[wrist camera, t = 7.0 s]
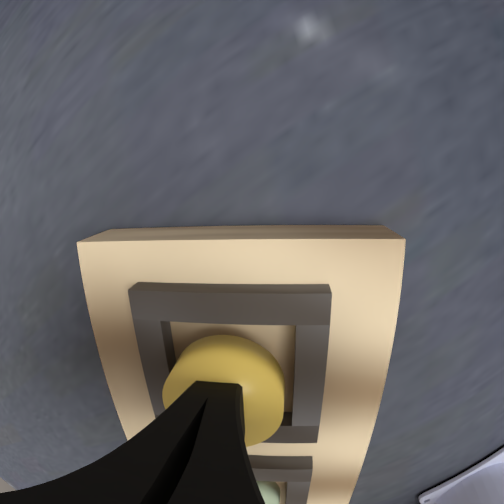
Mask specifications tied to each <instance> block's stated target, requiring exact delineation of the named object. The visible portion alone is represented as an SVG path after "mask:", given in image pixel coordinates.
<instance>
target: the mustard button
mask: <svg viewBox="0 0 504 504" xmlns="http://www.w3.org/2000/svg"><path fill="white" fill-rule="evenodd" d="M195 381H207V382H221V383H238V384H240V385H241V386H242V387H243V403H244V419H245V440H244V441H245V445H246V447H249V446H253V445H256V444H259V443H261V442H263V441H265V440H266V439H268V438H269V437H271V436H272V435H273V434H274V433H275V432H276V431H277V429H278V428H279V426H280V424H281V422H282V419H283V413H284V392H285V379H284V374H283V371H282V369H281V366H280V365H279V363H278V361H277V360H276V359H275V358H274V356H273V355H272V354H271V353H270V352H269V351H267V350H266V349H265V348H263V347H262V346H260V345H259V344H257V343H255V342H253V341H251V340H248V339H245V338H242V337H238V336H233V335H213V336H208V337H204V338H201V339H199V340H197V341H195V342H193V343H191V344H190V345H189V346H188V347H186V349H185V350H184V351H183V352H182V354H181V355H180V357H179V358H178V360H177V362H176V364H175V365H174V367H173V369H172V371H171V372H170V374H169V376H168V378H167V380H166V381H165V384H164V386H163V391H162V398H163V404H164V407H165V410H166V409H167V408H168V407H169V406H170V405H171V404H172V403H173V402H174V401H175V400H176V399H177V398H178V397H179V396H180V395H181V394H182V393H183V392H184V391H185V390H186V389H187V388H188V387H189V386H191V385H192V384H193V383H194V382H195Z"/></svg>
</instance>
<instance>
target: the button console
mask: <svg viewBox="0 0 504 504" xmlns="http://www.w3.org/2000/svg"><path fill="white" fill-rule="evenodd" d="M405 240H406V239H405V238H403V237H401V236H400V235H398V234H397V233H395V232H393V231H392V230H390V229H388V228H387V227H385V226H383V225H251V226H196V227H159V228H129V229H109V230H107V231H104V232H101V233H99V234H96V235H94V236H91V237H88V238H86V239H83V240H81V241H78V242H77V248H78V255H79V262H80V268H81V274H82V280H83V285H84V291H85V296H86V301H87V306H88V311H89V315H90V320H91V324H92V328H93V332H94V336H95V340H96V344H97V348H98V352H99V356H100V359H101V363H102V366H103V370H104V373H105V377H106V380H107V383H108V386H109V389H110V393H111V396H112V399H113V402H114V405H115V408H116V410H117V413H118V416H119V419H120V422H121V424H122V427H123V430H124V432H125V435H126V438H127V440H129V439H131V438H132V437H133V436H135V435H136V434H137V433H138V432H140V431H141V430H142V429H144V428H145V427H146V426H147V425H149V424H150V423H151V422H152V421H153V420H154V419H156V418H157V417H158V416H159V415H160V414H161V413H162V412H163V411H165V407H164V404H163V398H162V391H163V386H164V384H165V381H166V380H167V378H168V376H169V374H170V372H171V371H172V369H173V367H174V365H175V364H176V362H177V360H178V358H179V357H180V355H181V354H182V352H183V351H184V350H185V349H186V347H188V346H189V345H190V344H191V343H193V342H195V341H197V340H199V339H201V338H204V337H208V336H213V335H233V336H238V337H242V338H245V339H248V340H251V341H253V342H255V343H257V344H259V345H260V346H262V347H263V348H265V349H266V350H267V351H269V352H270V353H271V354H272V355H273V356H274V358H275V359H276V360H277V361H278V363H279V365H280V366H281V369H282V371H283V374H284V379H285V392H284V413H283V419H282V422H281V424H280V426H279V428H278V429H277V431H276V432H275V433H274V434H273V435H272V436H271V437H269V438H268V439H266V440H265V441H263V442H261V443H259V444H256V445H253V446H249V447H246V449H247V453H248V457H249V460H250V464H251V467H252V470H253V473H254V476H255V479H256V481H272V482H276V483H277V485H278V486H279V488H280V503H279V504H348V503H349V501H350V498H351V496H352V493H353V490H354V487H355V485H356V482H357V479H358V476H359V473H360V470H361V467H362V464H363V461H364V458H365V455H366V452H367V449H368V445H369V442H370V439H371V435H372V432H373V428H374V425H375V421H376V417H377V414H378V410H379V406H380V402H381V398H382V393H383V389H384V385H385V380H386V376H387V371H388V366H389V361H390V356H391V351H392V345H393V340H394V334H395V328H396V321H397V315H398V308H399V300H400V293H401V284H402V275H403V265H404V254H405Z"/></svg>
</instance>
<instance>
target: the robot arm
mask: <svg viewBox="0 0 504 504" xmlns="http://www.w3.org/2000/svg"><path fill="white" fill-rule="evenodd" d="M244 440H245V419H244V403H243V387H242V386H241V385H240V384H238V383H221V382H207V381H195V382H194V383H193V384H192V385H191V386H189V387H188V388H187V389H186V390H185V391H184V392H183V393H182V394H181V395H180V396H179V397H178V398H177V399H176V400H175V401H174V402H173V403H172V404H171V405H170V406H169V407H168V408H167V409H166V410H165V411H163V412H162V413H161V414H160V415H159V416H158V417H157V418H156V419H154V420H153V421H152V422H151V423H150V424H149V425H147V426H146V427H145V428H144V429H142V430H141V431H140V432H138V433H137V434H136V435H135V436H133V437H132V438H131V439H129V440H128V441H127V442H125V443H124V444H122V445H121V446H120V447H118V448H117V449H115V450H113V451H112V452H110V453H109V454H107V455H105V456H104V457H102V458H100V459H99V460H97V461H95V462H93V463H91V464H89V465H87V466H85V467H83V468H81V469H79V470H76V471H74V472H72V473H70V474H67V475H65V476H63V477H60V478H58V479H55V480H52V481H49V482H46V483H43V484H40V485H36V486H33V487H29V488H25V489H21V490H16V491H11V492H5V493H0V504H265V502H264V499H263V497H262V495H261V492H260V490H259V487H258V484H257V482H256V479H255V476H254V473H253V470H252V467H251V464H250V460H249V457H248V453H247V449H246V445H245V441H244ZM418 498H419V502H420V503H421V504H504V447H503V448H502V449H500V450H499V451H497V452H496V453H494V454H493V455H491V456H490V457H488V458H487V459H485V460H484V461H482V462H480V463H479V464H477V465H475V466H474V467H472V468H470V469H469V470H467V471H465V472H463V473H462V474H460V475H458V476H456V477H454V478H452V479H451V480H449V481H447V482H445V483H443V484H441V485H439V486H437V487H435V488H433V489H431V490H429V491H427V492H424V493H422V494H421V495H420V496H419V497H418Z"/></svg>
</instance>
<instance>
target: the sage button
mask: <svg viewBox="0 0 504 504" xmlns="http://www.w3.org/2000/svg"><path fill="white" fill-rule="evenodd" d="M256 482H257V484H258V487H259V490H260V492H261V495H262V497H263V499H264V502H265V504H279V503H280V488H279V486H278V485H277V483H276V482H272V481H256Z"/></svg>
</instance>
